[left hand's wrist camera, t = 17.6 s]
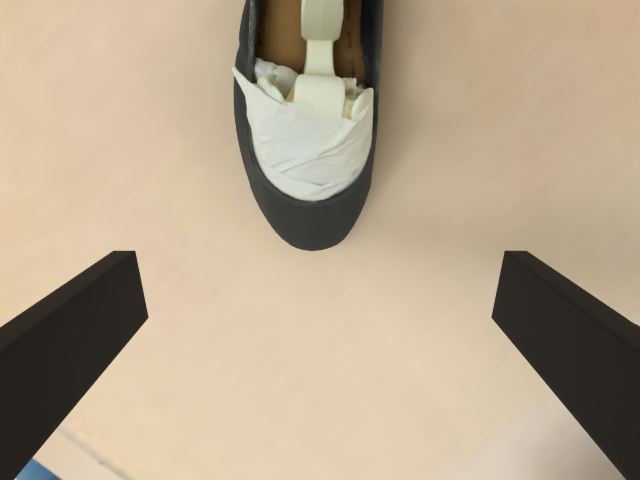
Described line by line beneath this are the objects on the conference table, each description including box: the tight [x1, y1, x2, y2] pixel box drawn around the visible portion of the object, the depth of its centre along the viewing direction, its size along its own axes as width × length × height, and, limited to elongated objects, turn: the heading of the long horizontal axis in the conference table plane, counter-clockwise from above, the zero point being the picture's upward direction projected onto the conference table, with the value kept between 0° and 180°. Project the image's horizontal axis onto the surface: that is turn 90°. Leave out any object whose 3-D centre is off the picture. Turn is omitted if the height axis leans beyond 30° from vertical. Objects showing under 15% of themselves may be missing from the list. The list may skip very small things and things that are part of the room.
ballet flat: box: [231, 0, 384, 251], centre depth 17 cm, size 8×24×8 cm, turn 0°
